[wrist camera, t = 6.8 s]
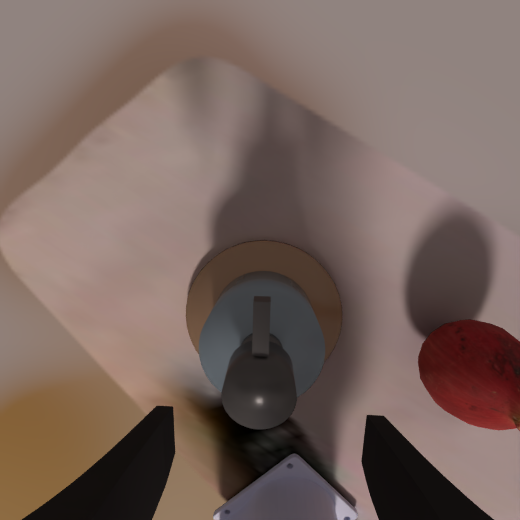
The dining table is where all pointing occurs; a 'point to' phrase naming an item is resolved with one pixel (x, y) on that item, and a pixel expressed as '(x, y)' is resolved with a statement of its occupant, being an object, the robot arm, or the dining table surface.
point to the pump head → (259, 377)
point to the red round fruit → (473, 373)
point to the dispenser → (281, 312)
